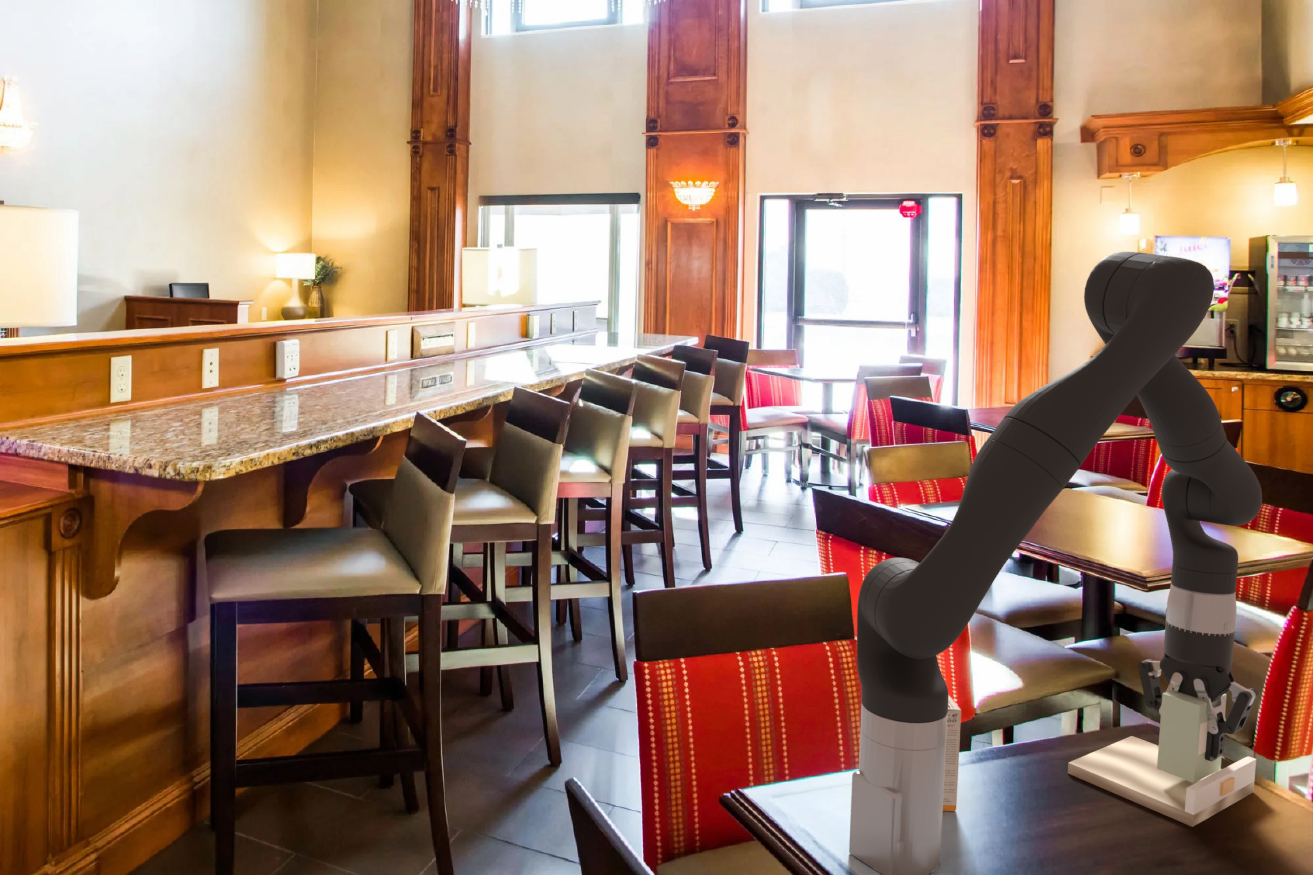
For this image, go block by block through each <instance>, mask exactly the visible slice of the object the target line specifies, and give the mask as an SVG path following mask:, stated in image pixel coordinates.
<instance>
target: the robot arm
mask: <svg viewBox="0 0 1313 875" xmlns="http://www.w3.org/2000/svg"><path fill="white" fill-rule="evenodd" d="M1214 290H1215V282H1214V276H1213V275H1212V272H1211V271H1210V269H1209V268H1207V266H1206V265H1204V264H1203V263H1201V262H1199V261H1198V262H1197V261H1195V260H1193V259H1192V260H1191V259H1189V258H1188V259H1187V258H1184V257H1177V256H1171V255H1170V256H1168V255H1163V254H1162V255H1161V254H1155V253H1153V254H1152V253H1148V252H1139V251H1137V252H1136V251H1119V252H1114V253H1112V254H1109V255H1106V256H1105V257H1104V258H1102V259H1101V260H1099V262H1097V264H1096V265H1095V266H1094V267H1093V268H1092V270H1091V271H1090V273H1089V275H1088V277H1087V279H1086V283H1085V287H1084V291H1083V293H1084V296H1083V299H1084V300H1083V302H1084V307H1085V311H1086V313H1087V316H1088V319H1089V321H1090V322H1091V324H1092V326H1093V328H1094V329H1095V331H1096V332H1097V334H1098V336H1099V338H1101V340H1102V342H1103V343H1104V344H1105V345H1104V346H1103V347H1102V348H1101V349H1100V350H1099V351H1098V352H1096V354H1095V355H1094V356H1092V357H1091V358H1090V359H1088V360H1087V361H1085V362H1084V363H1082V364H1081V365H1080V366H1078V367H1075V369H1073V370H1071V371H1069V372H1067V373H1066V374H1064V375H1062V376H1060V377H1058V378H1056V379H1054V380H1052V381H1050V382H1049V383H1047V384H1045V385H1043V386H1041V387H1040V388H1038V389H1036V390H1035V391H1032V393H1029V394H1028V395H1027V396H1025V397H1024V398H1022V399H1020V401H1019V402H1017V403H1015V405H1014V406H1013V407H1011V409H1010V410H1009V411H1008V412H1007V413H1006V414H1005V416H1004V417H1003V418H1002V420H1001V421H1000V422H999V423H998V425H997V426H996V428H995V429H994V430H993V431H992V432H991V434H990V435H989V437H988V438H987V439H986V440H985V441H984V443H983V444H982V446H981V448H980V449H979V450H978V452H977V454H976V455H975V457H974V460H973V462H972V463H971V467H970V469H969V472H968V476H967V478H966V481H965V485H964V488H963V492H962V495H961V498H960V502H959V505H958V507H957V511H956V512H955V515H954V516H953V519H952V521H951V523H950V524H949V526H948V528H947V529H946V530H945V532H944V533H943V535H942V537H940V539H939V540H938V541H937V543H936V544H935V545H934V546H933V547H932V548H931V549H930V551H929V552H928V553H927V555H926V556H925V557H924V558H923V559H922V560H921V561H920V562H918V561H916V560H914V559H911V558H905V557H892V558H891V557H890V558H888V559H885V560H882V561H880V562H878V563H877V564H876V565H874V566H873V567H872V568H871V569H870V570H868V573H867V574H866V575H865V576H864V579H863V580H862V583H861V586H860V590H859V593H858V598H857V610H856V612H857V613H856V614H857V615H856V617H857V618H856V665H857V666H856V667H857V672H858V678H859V682H860V687H861V688H860V689H861V706H860V708H861V711H860V729H859V730H860V733H859V753H858V754H859V755H858V756H859V757H858V770H856V771H854V772H853V773H852V774H851V795H850V796H851V797H850V798H851V799H850V826H849V849H848V853H849V854H851V855H852V856H854V857H855V858H856V859H858V860H860V861H862V862H863V863H864V864H866V865H868V866H869V867H871V868H873V869H874V870H875V871H876V872H878V873H880V874H881V875H929V874H931V873H933V872H935V870H937V869H938V868H939V866H940V862H941V851H942V850H941V848H942V835H943V834H942V832H943V830H942V829H943V812H944V811H943V794H944V775H945V755H946V738H947V718H948V695H949V689H948V686H947V682H946V680H945V678H944V677H943V674H942V671H941V669H940V665H939V662H938V657H937V656H938V655H940V654H941V653H943V652H944V651H946V650H947V649H949V648H950V647H951V646H952V645H953V644H954V643H955V642H956V641H957V639H959V637H960V636H961V634H962V633H963V632H964V630H965V629H966V628H967V626H968V624H969V623H970V621H971V619H972V617H973V616H974V615H975V612H976V611H977V610H978V608H979V606H980V605H981V603H982V601H983V600H984V599H985V596H986V595H987V594H988V591H989V590H990V588H991V586H992V585H993V583H994V582H995V580H996V578H997V577H998V575H999V573H1000V571H1001V570H1002V569H1003V567H1004V566H1005V565H1006V563H1007V561H1008V560H1009V559H1010V557H1011V556H1012V555H1013V553H1014V552H1015V551H1016V550H1017V549H1018V547H1019V546H1020V544H1022V542H1023V541H1024V539H1025V538H1026V537H1027V536H1028V534H1029V533H1030V532H1031V530H1032V528H1034V526H1035V525H1036V523H1037V522H1038V521H1039V519H1040V518H1041V517H1042V515H1043V514H1044V512H1046V510H1047V509H1048V508H1049V506H1050V505H1051V504H1052V503H1053V501H1054V500H1055V499H1056V498H1057V497H1058V496H1059V495H1060V494H1061V492H1062V491H1063V490H1064V488H1065V487H1066V486H1067V484H1069V482H1070V481H1071V479H1072V478H1073V477H1074V475H1075V474H1076V473H1077V472H1078V470H1079V469H1080V467H1082V465H1083V463H1085V461H1086V459H1087V458H1088V456H1089V455H1090V453H1091V452H1092V450H1093V449H1094V448H1095V446H1096V445H1097V444H1098V443H1099V441H1101V439H1102V438H1103V436H1104V435H1105V434H1106V433H1107V431H1109V429H1110V427H1111V426H1112V425H1113V424H1114V423H1115V421H1116V420H1117V419H1118V418H1119V417H1120V415H1121V414H1122V413H1123V412H1124V410H1125V409H1126V408H1127V407H1128V406H1129V405H1130V403H1131V402H1132V401H1133V400H1134V398H1135V397H1137V398H1138V400H1139V402H1140V404H1141V406H1142V407H1143V410H1144V412H1145V414H1146V416H1147V419H1148V421H1149V424H1150V426H1151V428H1152V431H1153V435H1154V437H1155V441H1156V442H1157V445H1158V448H1159V451H1160V453H1161V455H1162V459H1163V460H1164V462H1165V463H1166V465H1167V466H1168V467H1169V468H1170V470H1169V471H1168V472H1167V474H1165V477H1164V479H1163V481H1162V486H1161V502H1162V506H1163V510H1164V511H1163V512H1164V515H1165V518H1166V523H1167V527H1168V532H1169V537H1170V542H1171V547H1172V565H1171V566H1172V567H1171V577H1170V578H1171V579H1170V588H1169V592H1168V595H1167V602H1166V608H1165V628H1164V638H1163V639H1164V640H1163V652H1164V653H1163V656H1162V658H1161V659H1160V660H1155V659H1152V658H1149V659H1145V660H1142V661H1140V662H1138V664H1137V668H1138V669H1137V670H1138V673H1139V679H1140V682H1141V688H1142V692H1143V693H1142V694H1143V696H1144V697H1143V699H1144V703H1145V705H1146V706H1147V707H1148V708H1149V709H1152V708H1153V709H1154V710H1155V711H1157V712H1158V713H1159V716H1160V717H1161V707H1162V694H1163V693H1164V692H1163V689H1162V684H1161V681H1160V680H1161V679H1160V677H1161V674H1163V676H1164V678H1165V679H1166V682H1167V683H1168V686H1167V688H1166V690H1165V692H1168V691H1172V692H1175V693H1178V692H1180V693H1183V694H1186V695H1190V696H1193V697H1196V698H1198V699H1199V700H1200V701H1203V702H1206V703H1207V707H1206V714H1207V716H1208V718H1207V721H1208V723H1207V727H1208V730H1209V732H1207V740H1206V752H1205V760H1208V761H1211V762H1212V761H1214V760H1216V759H1217V758H1218V757H1220V756H1223V754H1224V748H1225V737H1226V736H1225V735H1226V734H1227V735H1234V734H1235V733H1237V732H1239V731H1242V730H1243V729H1244V727H1245V725H1246V723H1247V721H1248V718H1249V716H1250V714H1251V712H1252V710H1253V707H1254V706H1255V704H1256V701H1257V699H1258V698H1259V691H1258V690H1257V689H1255V688H1254V687H1250V688H1246V687H1245V686H1242V685H1241V684H1239V683H1237V682H1236V680H1235V677H1234V675H1233V672H1232V665H1233V659H1234V648H1235V647H1234V646H1235V636H1236V635H1235V634H1236V622H1237V598H1236V594H1237V590H1236V589H1237V581H1238V580H1237V579H1238V569H1239V568H1238V567H1239V554H1238V550H1237V549H1236V548H1235V547H1234V546H1232V545H1231V544H1228V543H1226V542H1223V541H1221V540H1218V539H1216V538H1214V537H1213V536H1212V537H1211V536H1210V535H1208V534H1207V533H1206V532H1205V531H1204V528H1203V527H1202V525H1201V522H1204V523H1210V524H1218V525H1225V526H1234V527H1237V526H1240V527H1241V526H1244V525H1245V524H1248V523H1251V521H1253V520H1254V519H1255V518H1256V517H1257V516H1258V514H1259V512H1260V510H1261V508H1262V503H1263V493H1262V486H1261V484H1260V481H1259V480H1258V477H1257V475H1256V474H1255V472H1254V471H1253V469H1252V467H1250V465H1249V464H1248V463H1247V461H1245V459H1244V458H1243V456H1241V455H1240V453H1239V452H1238V451H1237V449H1236V448H1235V446H1233V445H1232V444H1231V442H1230V441H1228V436H1227V434H1226V431H1225V428H1224V425H1223V423H1222V419H1221V416H1220V413H1219V410H1218V408H1217V406H1216V404H1215V401H1214V400H1213V398H1212V396H1211V395H1210V394H1209V392H1208V391H1207V389H1206V388H1205V387H1204V386H1203V385H1202V383H1201V382H1200V381H1199V379H1198V378H1196V376H1195V375H1194V374H1193V373H1192V371H1190V369H1188V367H1186V365H1184V363H1183V362H1182V361H1181V360H1180V358H1178V356H1177V355H1176V354H1177V353H1178V352H1179V351H1180V349H1181V348H1182V347H1183V346H1184V345H1185V344H1186V343H1187V342H1188V341H1189V340H1190V338H1191V337H1192V336H1193V335H1194V333H1195V332H1196V331H1197V330H1198V328H1199V327H1200V325H1201V324H1202V322H1203V321H1204V319H1205V318H1206V315H1207V313H1208V311H1209V310H1210V307H1211V306H1212V305H1211V304H1212V302H1213V298H1214V292H1215V291H1214ZM1229 691H1230V693H1231V702H1233V703H1234V704H1233V706H1232V708H1231V709H1230V712H1229V714H1228V717H1227V719H1226V713H1225V714H1224V710H1225V706H1224V702H1223V698H1222V695H1223V694H1227V692H1229ZM1217 699H1218V702H1217V705H1215V706H1212V702H1214V701H1216V700H1217ZM1225 711H1226V710H1225ZM1159 734H1160V732H1159ZM1159 734H1158V735H1159Z"/></svg>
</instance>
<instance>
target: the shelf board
mask: <svg viewBox="0 0 1313 875" xmlns="http://www.w3.org/2000/svg"><path fill="white" fill-rule="evenodd" d="M1158 747H1159V744H1158V745H1157V744H1155V743H1152V742H1149V741H1147V740H1144V739H1142V738H1139V737H1136V736H1133V735H1131V736H1128V737H1126V738H1123V739H1121V740H1119V741H1115V742H1114V743H1112V744H1109V745H1107V746H1105V747H1103V748H1100V749H1097V750H1095V751H1093V752H1090V753H1087V754H1085V755H1083V756H1081V757H1078V758H1076V759H1074V760H1071V761H1069V762H1068V763H1067V764H1068V765H1067V774H1069V775H1070V776H1074V777H1076V778H1078V779H1080V780H1081V781H1082V780H1083V781H1085V782H1087V783H1090V784H1092V785H1094V786H1096V787H1099V788H1101V789H1104V790H1106V791H1108V792H1111V793H1113V794H1115V795H1117V796H1120V797H1122V798H1124V799H1127V800H1129V801H1132V802H1134V803H1136V804H1138V805H1140V806H1143V807H1145V808H1147V809H1150V810H1152V811H1155V812H1157V813H1160V814H1162V815H1164V816H1167V817H1168V818H1171V819H1174V820H1175V821H1177V822H1181V823H1183V824H1185V825H1187V826H1189V827H1191V828H1192V827H1195V826H1196V825H1198V824H1200V823H1202V822H1203V821H1207V819H1209V818H1211V817H1212V816H1214V815H1216V814H1218V813H1219V812H1221V811H1223V810H1225V809H1226V808H1229V806H1233V805H1234V804H1235V803H1238V801H1241V800H1243V799H1245V798H1246V797H1248V796H1249V795H1252V794H1254V793H1255V792H1254V791H1255V790H1254V789H1255V779H1256V769H1257V768H1256V767H1257V758H1254V757H1252V756H1249V755H1248V756H1246V757H1243V758H1241V759H1239V760H1237V761H1236V762H1233V763H1231V764H1230V765H1228V766H1226V767H1224V768H1221V769H1220V770H1218V771H1216V772H1214V773H1212V774H1210V775H1208V776H1206V777H1204V778H1202V779H1200V780H1198V781H1196V782H1195V783H1193V782H1190V781H1187V780H1185V779H1182V778H1180V777H1177V776H1175V775H1172V774H1170V773H1167V772H1164V771H1162V770H1159V769H1157V760H1158Z"/></svg>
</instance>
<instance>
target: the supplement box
mask: <svg viewBox="0 0 1313 875" xmlns="http://www.w3.org/2000/svg"><path fill="white" fill-rule="evenodd" d="M961 720H962V709H961V708H960V707H959V706H958V704H957V703H956V702H955V700H953V698H952V697H951V696H950V695H949V694H948V718H947V738H946V755H945V775H944V794H943V812H956V811H957V801H958V799H957V798H958V783H959V782H958V780H959V762H960V761H959V759H960V743H961V742H960V741H961V740H960V739H961V723H962V722H961Z"/></svg>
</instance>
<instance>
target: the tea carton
mask: <svg viewBox="0 0 1313 875" xmlns="http://www.w3.org/2000/svg"><path fill="white" fill-rule="evenodd" d="M1162 693H1163V694H1162V707H1161V716H1160V721H1159V722H1160V723H1159V733H1160V734H1158V735H1159V736H1158V746H1159V747H1158V760H1157V769H1159V770H1162V771H1164V772H1167V773H1170V774H1172V775H1175V776H1177V777H1180V778H1182V779H1185V780H1187V781H1190V782H1193V783H1195V782H1196V781H1198V780H1200V779H1202V778H1204V777H1206V776H1208V775H1210V774H1212V773H1214V772H1216V771H1218V770H1220V769H1222V768H1221V767H1222V756H1223V755H1222V756H1220V757H1218V758H1217V759H1216V760H1214V761H1212V762H1211V761H1208V760H1205V752H1206V740H1207V732H1209V730H1208V727H1207V723H1208V721H1207V718H1208V716H1207V714H1206V707H1207V703H1206V702H1203V701H1200V700H1199V699H1198V698H1196V697H1193V696H1190V695H1186V694H1183V693H1180V692H1178V693H1175V692H1172V691H1168V692H1166V691H1165V692H1162ZM1227 697H1228V696H1227V693H1225V694H1223V695H1222V698H1223V702H1224V706H1225V710H1224V714H1225V715H1226V708H1227V707H1226V706H1227ZM1217 702H1218V699H1217V700H1216V701H1214V702H1212V706H1215V705H1217Z"/></svg>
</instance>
